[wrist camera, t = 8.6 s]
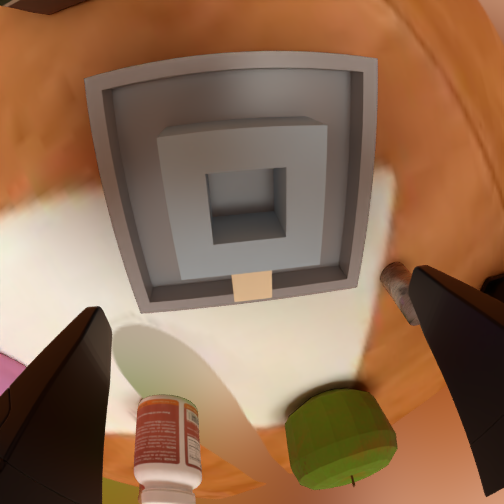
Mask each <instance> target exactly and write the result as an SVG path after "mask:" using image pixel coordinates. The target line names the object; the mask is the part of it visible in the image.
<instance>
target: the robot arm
mask: <svg viewBox="0 0 504 504" xmlns="http://www.w3.org/2000/svg"><path fill="white" fill-rule="evenodd" d="M408 295H409V298H410V300H411V303H412V305H413V308H414V310H415V313H416V315H417V318H418V320H419V323H420V326H421V328H422V331H423V333H424V336H425V338H426V340H427V342H428V344H429V347H430V349H431V351H432V353H433V355H434V357H435V359H436V361H437V364H438V366H439V368H440V370H441V372H442V375H443V377H444V379H445V382H446V384H447V386H448V388H449V391H450V393H451V396H452V398H453V401H454V403H455V406H456V408H457V410H458V413H459V416H460V419H461V421H462V424H463V426H464V429H465V432H466V435H467V438H468V440H469V443H470V447H471V449H472V453H473V456H474V459H475V462H476V465H477V468H478V472H479V475H480V479H481V483H482V486H483V490H484V493H485V496H486V497H487V496H489V495H491V494H493V493H495V492H497V491H499V490H500V489H502V488H504V274H502V275H499V276H495V277H492V278H489V279H487V280H486V281H485V283H484V286H483V288H482V291H479V290H477V289H475V288H473V287H471V286H469V285H467V284H465V283H463V282H461V281H459V280H457V279H455V278H453V277H451V276H449V275H447V274H445V273H443V272H441V271H439V270H437V269H434V268H432V267H430V266H428V265H422V266H417V267H415V268H414V270H413V273H412V277H411V280H410V283H409V287H408ZM111 346H112V330H111V327H110V325H109V322H108V320H107V318H106V316H105V314H104V311H103V310H102V308H101V307H99V306H94V307H87V308H85V309H84V310H83V311H82V312H81V313H80V314H79V315H78V316H77V317H76V318H75V319H74V320H73V321H72V322H71V323H70V324H69V325H68V326H67V327H66V328H65V329H64V330H63V331H62V332H61V333H60V334H59V335H58V336H57V337H56V338H55V339H54V340H53V341H52V342H51V343H50V344H49V345H48V346H47V347H46V348H45V349H44V350H43V351H42V352H41V353H40V354H39V355H38V356H37V357H36V358H35V359H34V360H33V361H32V362H31V363H30V364H29V365H28V366H27V367H26V369H25V370H24V371H23V372H22V373H21V374H20V375H19V376H18V377H17V378H16V379H15V380H14V381H13V383H12V384H11V385H10V388H7V389H6V390H5V391H4V393H3V394H2V395H1V396H0V504H102V473H103V451H104V437H105V425H106V414H107V405H108V396H109V388H110V371H111Z"/></svg>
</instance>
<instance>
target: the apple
mask: <svg viewBox="0 0 504 504" xmlns="http://www.w3.org/2000/svg"><path fill="white" fill-rule="evenodd" d="M285 429H286V437H287V446H288V452H289V459H290V465H291V469H292V471H293V473H294V475H295V476H296V478H297V479H298V481H299V483H300V485H302V486H305V487H308V488H310V489H313V490H318V489H319V490H320V489H327V488H333V487H338V486H342V485H346V484H350V483H352V484H353V487H354V486H355V482H356V481H359V480H361V479H364V478H366V477H368V476H370V475H372V474H374V473H376V472H378V471H379V470H381V469H383V468H384V467H386V466H387V465H388V464H389V462H390V461H391V459H392V457H393V455H394V454H395V452H396V450H397V441H396V433H395V431H394V430H393V428H392V426H391V425H390V423H389V421H388V419H387V418H386V416H385V414H384V413H383V411H382V409H381V408H380V406H379V404H378V403H377V401H376V399H375V398H374V396H372V395H371V394H370V393H369V392H365V391H359V390H353V389H346V388H344V389H334V390H330V391H326V392H322V393H320V394H318V395H316V396H314V397H312V398H310V399H309V400H308V401H307V402H306V403H305V404H303V405H302V406H301V407H300V408H299V409H297V410H296V411H295V412H294V413H292V414H291V415H290V416H289V418H288V420H287V422H286V423H285Z"/></svg>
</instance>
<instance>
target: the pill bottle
mask: <svg viewBox="0 0 504 504" xmlns="http://www.w3.org/2000/svg"><path fill="white" fill-rule="evenodd" d="M134 475H135V478H136V479H137V481H138V482H139V483H140V484H142V485H143V486H144V487H145V489H144V490H143V491H142V493H141V499H142V504H196V503H195V494H194V493H192V490H193V489H195V488H196V487H198V486H199V485H200V483H201V481H202V471H201V458H200V442H199V423H198V411H197V408H196V406H195V405H194V404H193V403H192V402H190V401H189V400H187V399H185V398H181V397H178V396H173V395H153V396H149V397H146V398H144V399H143V400H142V401H141V402H140V403H139V405H138V411H137V424H136V438H135V455H134Z"/></svg>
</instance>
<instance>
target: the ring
mask: <svg viewBox="0 0 504 504" xmlns="http://www.w3.org/2000/svg"><path fill="white" fill-rule="evenodd" d="M157 145H158V152H159V159H160V166H161V173H162V179H163V185H164V191H165V197H166V203H167V209H168V215H169V220H170V225H171V231H172V236H173V241H174V246H175V251H176V256H177V261H178V266H179V270H180V275H181V280H187V279H197V278H206V277H216V276H225V275H231V278H232V286H233V293H234V301H235V302H241V301H249V300H258V299H266V298H272V270H278V269H287V268H295V267H304V266H312V265H320V258H321V246H322V233H323V219H324V204H325V186H326V163H327V125H325V124H323V123H321V122H319V121H316V120H314V119H312V118H309V117H307V116H298V117H264V118H246V119H232V120H220V121H210V122H200V123H192V124H184V125H176V126H169V127H166V128H165V129H164V130H163V131H162V132H161V133H160V135H159V136H158V137H157ZM268 168H273V178H274V211H268V212H257V213H246V214H236V215H226V216H217V217H212V209H211V200H210V191H209V182H208V174H211V173H220V172H231V171H242V170H254V169H268Z"/></svg>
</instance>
